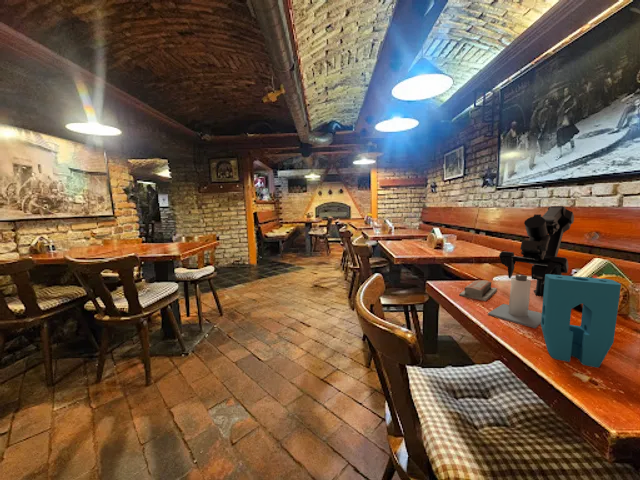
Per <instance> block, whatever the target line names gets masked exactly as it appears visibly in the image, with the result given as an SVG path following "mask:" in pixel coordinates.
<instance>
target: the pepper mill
mask: <svg viewBox="0 0 640 480" xmlns="http://www.w3.org/2000/svg"><path fill="white" fill-rule="evenodd" d="M531 285H532V281H531V280H530V279H528V276H527V275H525V274H521V273H520V274H519V273H518V274H515V277H511V278H510V289H509V301H508V305H509V313H510V314H511V315H514V316H518V317H527V316H528V310H529V307H530V306H529V305H530V296H531V295H530V294H531V293H530V292H531Z"/></svg>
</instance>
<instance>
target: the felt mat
mask: <svg viewBox="0 0 640 480" xmlns="http://www.w3.org/2000/svg"><path fill="white" fill-rule="evenodd" d="M487 315H488V316H491V317H494V318H498V319H501V320H504V321H508V322H511V323H514V324H518V325H522V326H525V327H529V328H532V329H537V328H538V327H539V326H541V317H542V312H539V311H534V310H530V309H528V316H527V317H518V316H514V315H511V314H510V313H509V304H506V303H503V304H500V305H499V306H497V307H496V308H494V309H492V310H491V311H489V312H487Z"/></svg>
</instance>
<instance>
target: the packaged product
mask: <svg viewBox="0 0 640 480" xmlns="http://www.w3.org/2000/svg"><path fill="white" fill-rule="evenodd" d="M497 291H498V288H497V287H492V282H491V281H489V280H486V279H484V280H483V279H482V280H474V281H472V282H471V283H469V284H468V285H466V286H465V287H464V290H463V291H462V292H460V293H458V295H459V296H460V297H464V298H468V299H472V300H473V299H474V300H479V301H483V302H487V301H488V299H490V298H491V297H492V296H494V294H495V293H496V292H497Z"/></svg>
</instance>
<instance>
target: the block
mask: <svg viewBox="0 0 640 480" xmlns="http://www.w3.org/2000/svg"><path fill="white" fill-rule="evenodd" d="M621 287H622V283H619V282H618V281H615V280H614V279H607V278H602V277H601V278H597V277H587V276H573V275H563V274H562V275H552V274H545V284H544V295H543V296H542V305H541V307H542V309H541V313H542V317H541V324H540V327H541V331H542V335H543V339H544V343H545V347H546V350H547V353H548V354H549V356H550V357H551V358H552V359H554V360H557V361H558V360H559V361H561V362H562V361H563V362H568V363H571V359H572V358H571V357H573V358H576V359H577V360H578V361H579V362H580V364H582V365H583V366H588V367H592V368H600V367H601V365H602V363H603V362H604V360H605V358H606V356H607V354H608V353H609V351H610V350H611V347H612V346H613V344H614V341H615V335H616V327H617V318H618V313H619V312H618V311H619V302H620V295H621V294H620V293H621ZM579 305H582V311H581V321H580V325H574V324H571V317H572V309H574V308H576V307H577V306H579Z"/></svg>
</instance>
